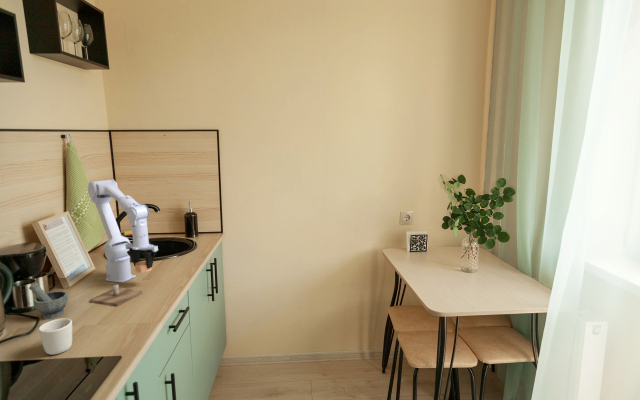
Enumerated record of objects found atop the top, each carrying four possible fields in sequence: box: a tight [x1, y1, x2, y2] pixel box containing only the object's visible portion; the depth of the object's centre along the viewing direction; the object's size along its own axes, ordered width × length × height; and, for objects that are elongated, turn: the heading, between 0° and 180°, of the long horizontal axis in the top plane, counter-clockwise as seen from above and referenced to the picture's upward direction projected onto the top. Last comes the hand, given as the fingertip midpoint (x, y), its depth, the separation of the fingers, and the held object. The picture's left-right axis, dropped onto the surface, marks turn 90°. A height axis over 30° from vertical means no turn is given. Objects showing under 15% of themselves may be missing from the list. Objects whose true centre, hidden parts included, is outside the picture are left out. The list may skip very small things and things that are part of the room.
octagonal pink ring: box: [134, 260, 153, 274], centre depth 154 cm, size 6×6×3 cm
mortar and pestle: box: [28, 282, 69, 320], centre depth 130 cm, size 11×9×12 cm
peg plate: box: [89, 283, 143, 307], centre depth 144 cm, size 13×12×5 cm
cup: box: [38, 317, 73, 355], centre depth 110 cm, size 11×8×8 cm
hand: (143, 266), depth 154 cm, fingers closed on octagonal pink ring, 6 cm apart
